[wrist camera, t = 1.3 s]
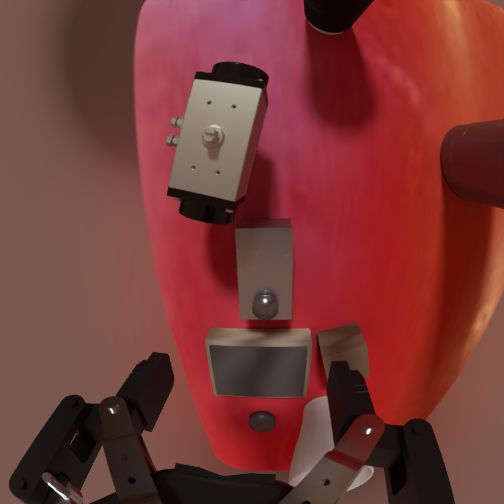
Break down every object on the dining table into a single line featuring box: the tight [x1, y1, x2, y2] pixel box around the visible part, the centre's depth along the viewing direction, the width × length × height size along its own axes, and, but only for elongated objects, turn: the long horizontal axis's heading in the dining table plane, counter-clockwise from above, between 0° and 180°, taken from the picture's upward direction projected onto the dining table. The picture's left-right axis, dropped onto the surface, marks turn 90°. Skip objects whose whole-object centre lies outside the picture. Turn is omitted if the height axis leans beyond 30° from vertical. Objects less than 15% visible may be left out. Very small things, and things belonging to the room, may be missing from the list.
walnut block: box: [317, 322, 369, 381], centre depth 30 cm, size 5×5×5 cm
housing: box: [235, 218, 293, 320], centre depth 27 cm, size 9×5×6 cm, turn 2°
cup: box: [288, 396, 374, 491], centre depth 29 cm, size 10×10×14 cm
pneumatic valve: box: [167, 62, 269, 224], centre depth 21 cm, size 6×12×12 cm, turn 167°
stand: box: [205, 328, 312, 398], centre depth 32 cm, size 12×9×3 cm
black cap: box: [249, 411, 275, 432], centre depth 37 cm, size 4×4×2 cm
